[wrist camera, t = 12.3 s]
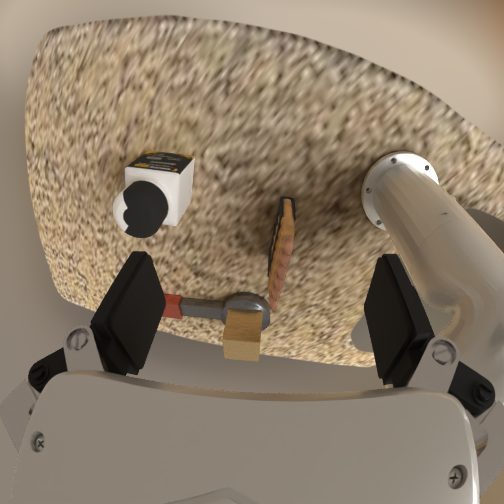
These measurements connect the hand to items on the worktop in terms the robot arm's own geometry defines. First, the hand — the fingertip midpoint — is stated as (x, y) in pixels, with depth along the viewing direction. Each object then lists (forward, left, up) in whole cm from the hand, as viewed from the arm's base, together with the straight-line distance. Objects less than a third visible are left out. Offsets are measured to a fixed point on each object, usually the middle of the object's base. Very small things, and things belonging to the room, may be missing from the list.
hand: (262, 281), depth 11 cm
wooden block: (+3, +32, -24) cm, 40 cm away
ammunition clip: (-2, +14, -27) cm, 30 cm away
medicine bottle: (+14, +6, -27) cm, 31 cm away
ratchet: (+12, +32, -27) cm, 43 cm away
